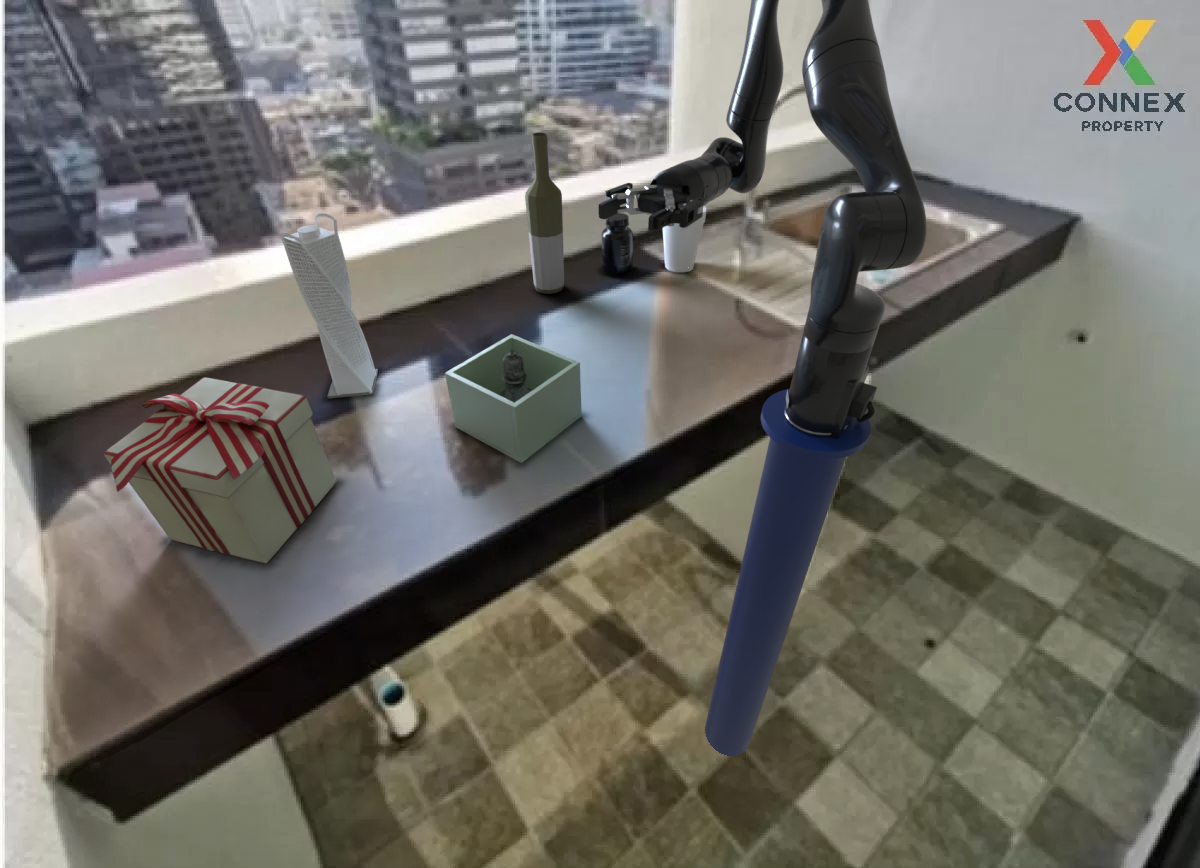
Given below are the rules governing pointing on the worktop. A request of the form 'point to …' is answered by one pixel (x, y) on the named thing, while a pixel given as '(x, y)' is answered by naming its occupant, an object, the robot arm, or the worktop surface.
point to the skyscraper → (331, 307)
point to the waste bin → (526, 419)
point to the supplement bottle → (617, 246)
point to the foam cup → (682, 245)
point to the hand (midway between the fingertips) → (625, 218)
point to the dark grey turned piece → (514, 377)
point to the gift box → (226, 467)
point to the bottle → (545, 223)
